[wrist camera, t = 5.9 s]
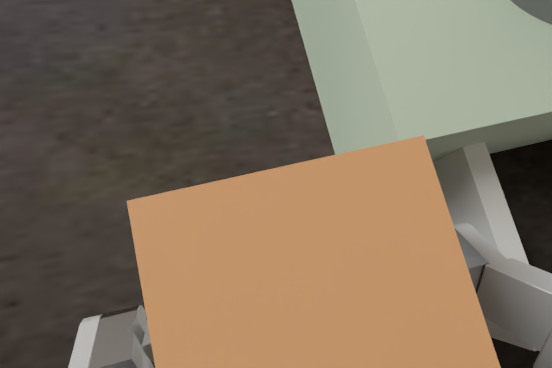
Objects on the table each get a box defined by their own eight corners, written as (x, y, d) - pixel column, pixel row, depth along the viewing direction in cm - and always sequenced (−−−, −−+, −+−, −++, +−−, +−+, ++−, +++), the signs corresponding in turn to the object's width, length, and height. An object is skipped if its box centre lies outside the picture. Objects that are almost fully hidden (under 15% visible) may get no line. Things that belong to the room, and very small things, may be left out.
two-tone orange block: (337, 320, 17) (529, 452, 5) (232, 349, 17) (189, 568, 5) (310, 216, 18) (423, 135, 6) (209, 240, 17) (126, 200, 6)
